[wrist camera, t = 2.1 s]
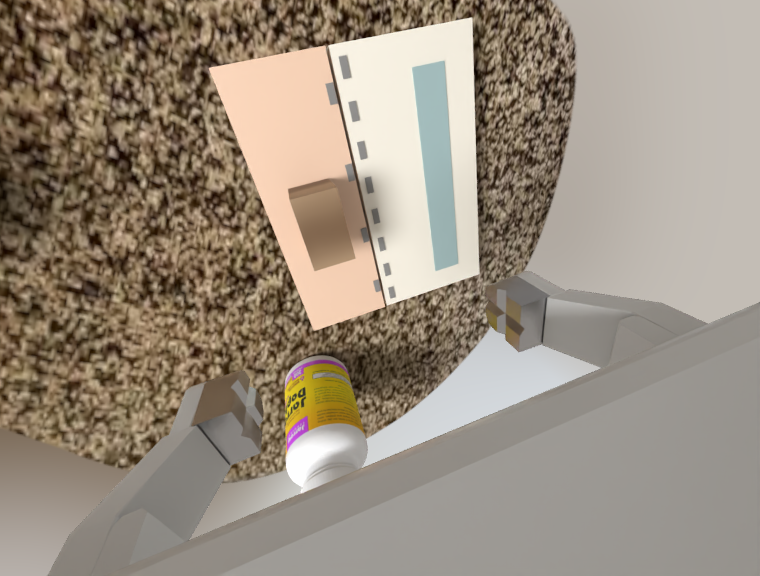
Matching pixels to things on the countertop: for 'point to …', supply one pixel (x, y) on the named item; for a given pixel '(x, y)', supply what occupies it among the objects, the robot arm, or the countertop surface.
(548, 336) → the robot arm
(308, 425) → the supplement bottle
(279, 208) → the ticket stub
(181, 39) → the countertop surface
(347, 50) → the ticket
